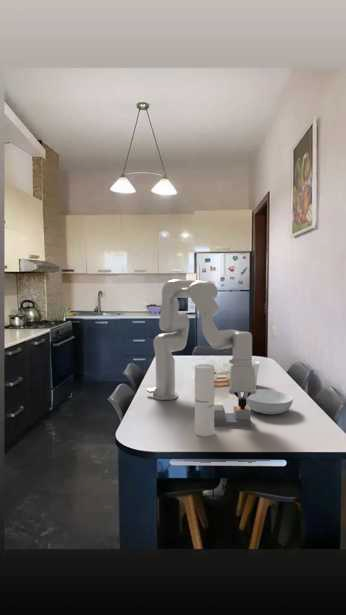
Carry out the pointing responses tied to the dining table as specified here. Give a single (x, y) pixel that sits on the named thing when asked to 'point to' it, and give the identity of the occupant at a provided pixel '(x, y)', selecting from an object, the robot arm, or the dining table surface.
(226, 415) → the key panel
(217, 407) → the key ivory
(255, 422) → the dining table surface
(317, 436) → the dining table surface
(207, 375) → the cylindrical container
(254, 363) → the foam cup
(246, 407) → the key terracotta
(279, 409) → the serving bowl
